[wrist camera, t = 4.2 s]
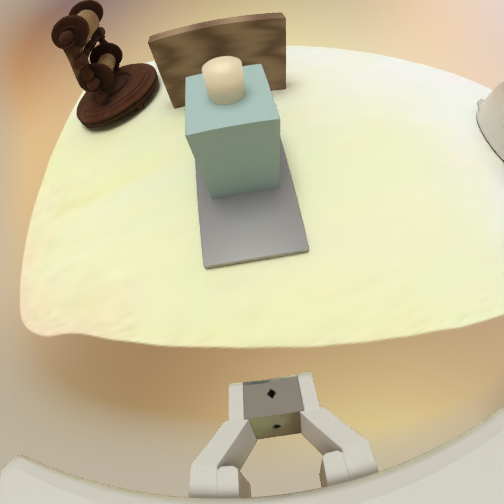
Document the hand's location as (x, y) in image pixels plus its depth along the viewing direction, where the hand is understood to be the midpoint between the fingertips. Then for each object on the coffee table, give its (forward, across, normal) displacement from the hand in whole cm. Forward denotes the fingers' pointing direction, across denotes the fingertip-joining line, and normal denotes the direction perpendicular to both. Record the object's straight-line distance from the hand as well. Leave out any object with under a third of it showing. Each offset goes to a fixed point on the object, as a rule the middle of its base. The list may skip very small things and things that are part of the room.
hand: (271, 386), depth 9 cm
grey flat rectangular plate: (+26, 0, +4) cm, 26 cm away
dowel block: (+24, 0, +4) cm, 25 cm away
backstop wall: (+35, 0, +14) cm, 37 cm away
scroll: (+39, -18, +18) cm, 47 cm away
